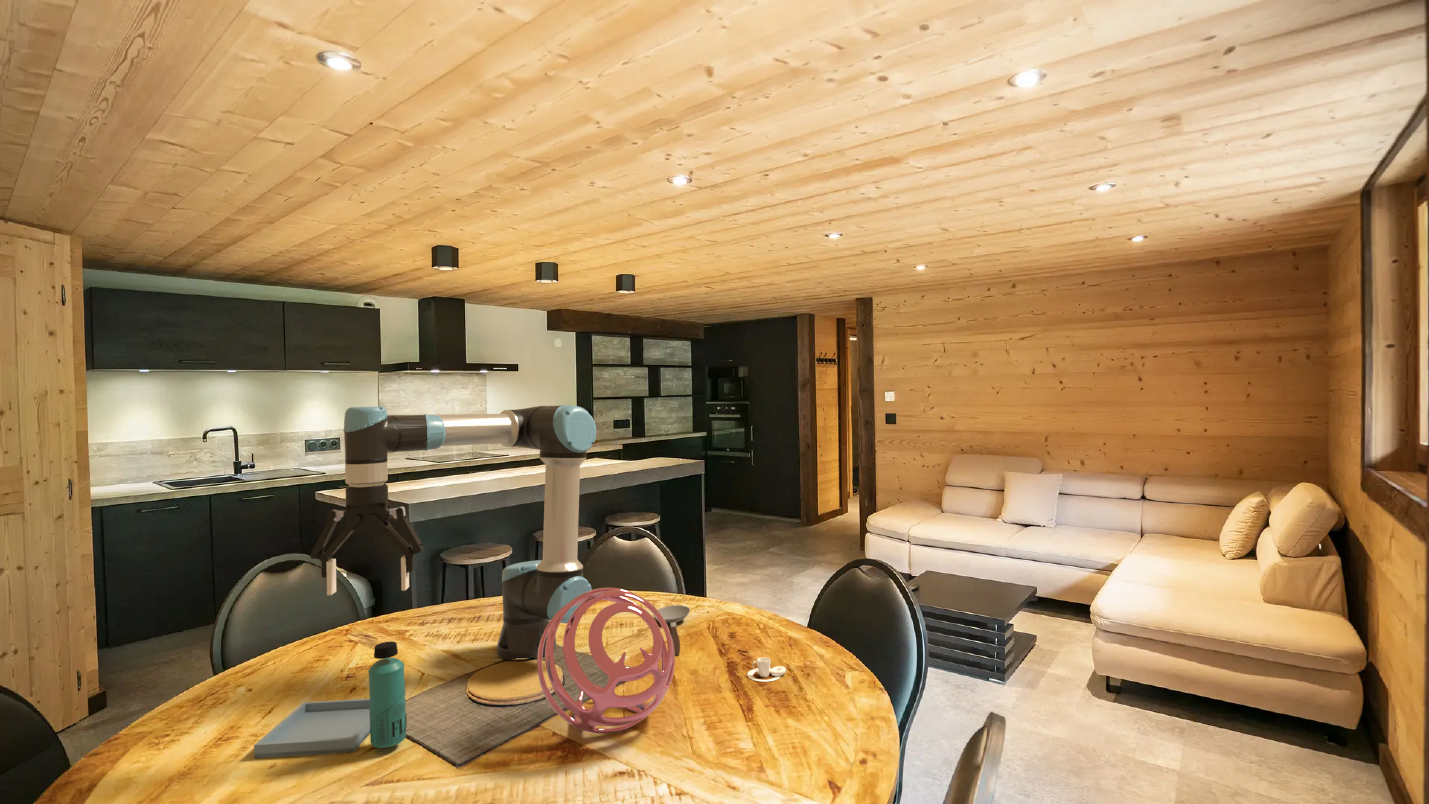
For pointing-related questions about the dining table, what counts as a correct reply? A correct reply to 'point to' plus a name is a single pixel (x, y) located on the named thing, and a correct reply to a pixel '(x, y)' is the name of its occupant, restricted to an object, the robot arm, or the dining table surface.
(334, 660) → the dining table surface
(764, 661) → the teacup and saucer
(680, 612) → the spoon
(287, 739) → the tray
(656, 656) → the pink openwork sphere
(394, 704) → the beverage bottle
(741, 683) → the dining table surface
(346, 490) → the robot arm
